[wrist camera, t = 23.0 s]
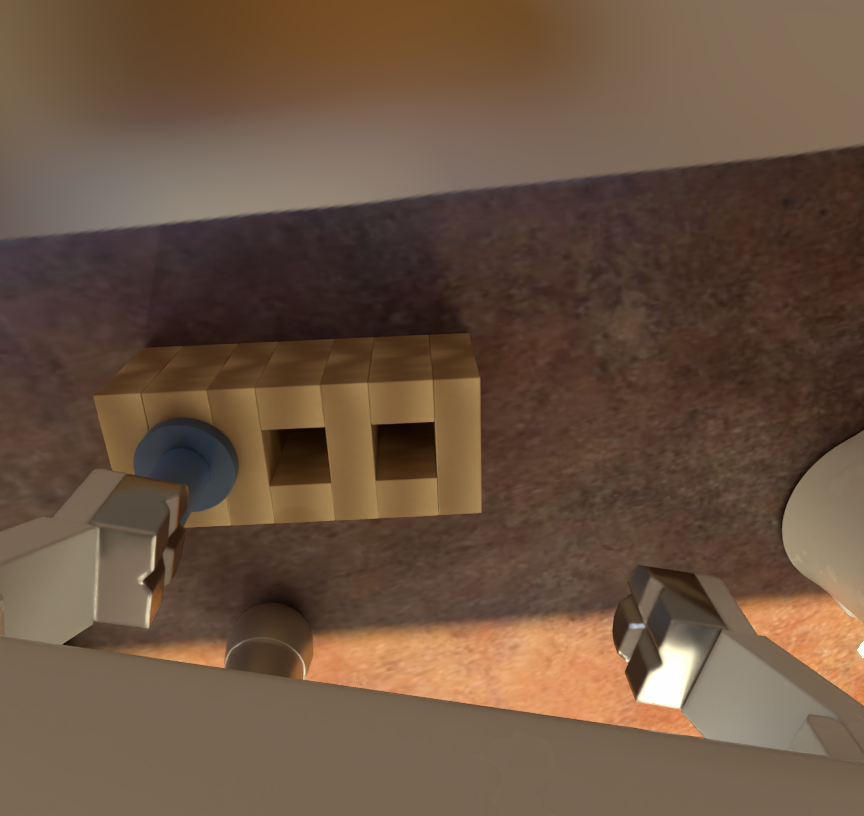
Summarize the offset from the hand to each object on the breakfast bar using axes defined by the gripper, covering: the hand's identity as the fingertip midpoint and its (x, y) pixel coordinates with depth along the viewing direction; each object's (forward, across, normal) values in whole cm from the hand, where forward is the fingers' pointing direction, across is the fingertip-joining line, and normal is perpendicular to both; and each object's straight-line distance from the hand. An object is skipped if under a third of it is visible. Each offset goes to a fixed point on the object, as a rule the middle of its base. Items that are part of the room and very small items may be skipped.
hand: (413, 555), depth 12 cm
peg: (+31, +10, +14) cm, 36 cm away
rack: (+33, +4, +12) cm, 36 cm away
